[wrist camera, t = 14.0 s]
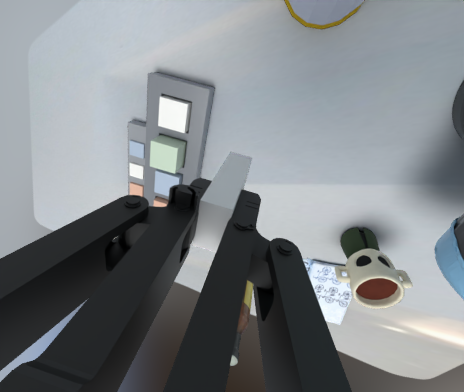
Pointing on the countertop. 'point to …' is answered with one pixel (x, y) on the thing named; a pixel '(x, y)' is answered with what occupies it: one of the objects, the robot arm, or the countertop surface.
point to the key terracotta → (160, 202)
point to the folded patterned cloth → (329, 290)
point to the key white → (174, 113)
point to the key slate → (166, 181)
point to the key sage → (167, 153)
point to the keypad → (167, 133)
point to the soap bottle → (322, 11)
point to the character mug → (370, 271)
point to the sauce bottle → (242, 320)
